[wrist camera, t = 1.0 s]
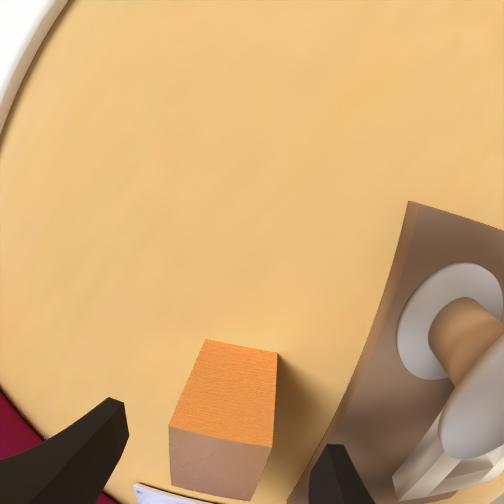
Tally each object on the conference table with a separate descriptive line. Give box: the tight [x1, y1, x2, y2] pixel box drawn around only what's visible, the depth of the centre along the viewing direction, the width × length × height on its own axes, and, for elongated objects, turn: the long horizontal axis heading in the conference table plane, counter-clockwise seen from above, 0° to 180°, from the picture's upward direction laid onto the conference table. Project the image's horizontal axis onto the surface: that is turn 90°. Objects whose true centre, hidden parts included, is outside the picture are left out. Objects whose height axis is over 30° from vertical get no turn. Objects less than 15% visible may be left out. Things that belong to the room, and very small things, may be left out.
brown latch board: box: [287, 201, 504, 504], centre depth 10 cm, size 20×14×6 cm
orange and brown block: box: [169, 339, 277, 501], centre depth 10 cm, size 4×3×5 cm
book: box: [0, 391, 118, 504], centre depth 17 cm, size 21×28×8 cm
